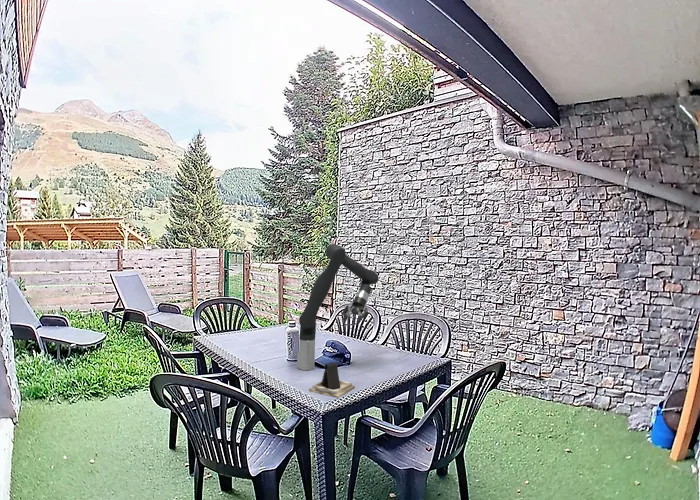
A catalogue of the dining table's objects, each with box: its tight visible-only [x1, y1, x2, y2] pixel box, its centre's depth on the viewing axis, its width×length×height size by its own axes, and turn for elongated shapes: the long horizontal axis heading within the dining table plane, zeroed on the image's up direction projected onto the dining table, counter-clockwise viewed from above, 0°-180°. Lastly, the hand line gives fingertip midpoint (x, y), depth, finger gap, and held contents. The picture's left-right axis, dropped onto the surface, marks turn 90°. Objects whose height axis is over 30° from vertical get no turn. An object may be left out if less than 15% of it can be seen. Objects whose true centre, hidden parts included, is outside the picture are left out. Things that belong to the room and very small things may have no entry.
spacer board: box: [308, 380, 356, 399], centre depth 230 cm, size 17×17×2 cm
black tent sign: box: [321, 362, 340, 390], centre depth 231 cm, size 9×6×12 cm, turn 35°
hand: (350, 322), depth 259 cm, fingers open, 8 cm apart
